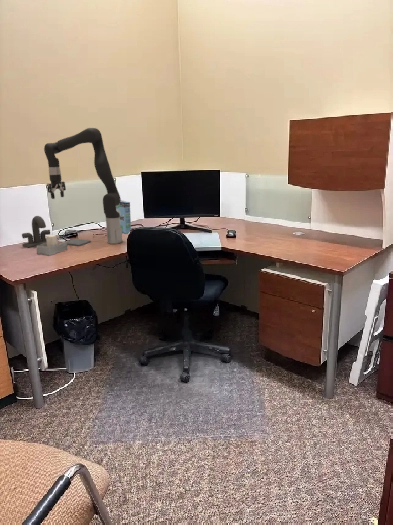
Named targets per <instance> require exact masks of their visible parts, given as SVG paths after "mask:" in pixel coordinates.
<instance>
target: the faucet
mask: <svg viewBox="0 0 393 525" xmlns="http://www.w3.org/2000/svg"><path fill="white" fill-rule="evenodd" d="M46 227H47V225H46V222H45V220H44V218H43V217H42V216H40V215H34V217H32V220H31V230H32V233H30V232H23V233H21V237H22V239H27V241H28V242H23V243H22V245H21V246H22V247H23V248H27V249H31V248H36V246H37V245H40V244H43V243H47V240H46V236H48V235H51V229H46ZM40 229H43V230H41V231H40Z"/></svg>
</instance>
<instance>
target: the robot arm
mask: <svg viewBox="0 0 393 525" xmlns="http://www.w3.org/2000/svg"><path fill="white" fill-rule="evenodd" d="M81 144H91V145H92V148H93V151H94V157H93V158H94V160H93V164H94V168H95V172H96V174H97V177H98V179H99V180H100V181H101V182H102V183H103V185H104V187H105V189H106V193H105V195H103V197H102V208H103V213H104V216H105V226H106V239H107V244H111V245H117V244H120V243H123V242H124V241H123V240H124V239H123V232H122V228H120V214H119V212H117V211H116V206H117V205H119V204H120V201H121V200H122V199H121V195H120V193H119V191H118V188H117V186H116V183H115V180H114V176H113V174H112V173H113V172H112V170H111V166H110V163H109V161H108V156H107V153H106V150H105V146H104V140H103V137H102V133H101V131H100V130H99V129H98V128H97V127H87V128H85V129H83V130H82V131H81V132H78V133H76V134H73V135H71V136H69V137H65V138H61V139H60V140H58V141H55V142H48V143H46V144H44V148H43V150H44V155H45V158H46V160H47V164H48V176H49V181H50V183H47V184H46V186H47V187H46V188H47V193H49V194H50V198H51V199H52V200H55V199H56V198H55V197H56V195H55V191H56V190H59V191H60V192H59V193H60V198H64V197H65V193H64V192H65V191H66V182H65V181H62V172H61V166H60V160H59V158H58V157H56V155H57V154H59V153H61V152H63V151H66V150H67V151H68V150H71V149H72V148H75V147H76V146H79V145H81Z"/></svg>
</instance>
